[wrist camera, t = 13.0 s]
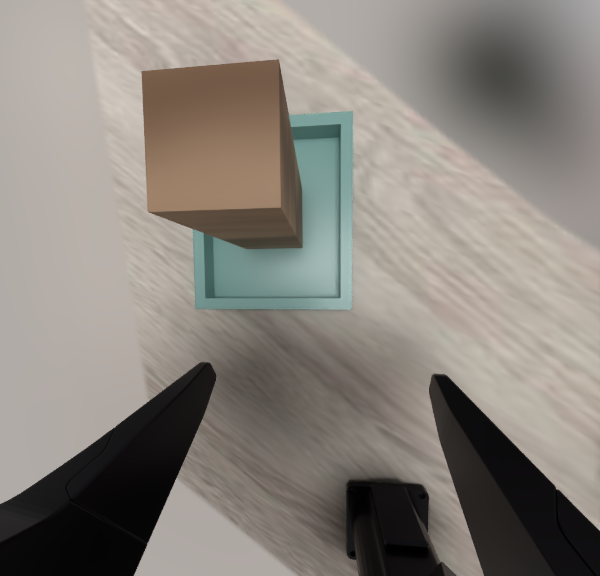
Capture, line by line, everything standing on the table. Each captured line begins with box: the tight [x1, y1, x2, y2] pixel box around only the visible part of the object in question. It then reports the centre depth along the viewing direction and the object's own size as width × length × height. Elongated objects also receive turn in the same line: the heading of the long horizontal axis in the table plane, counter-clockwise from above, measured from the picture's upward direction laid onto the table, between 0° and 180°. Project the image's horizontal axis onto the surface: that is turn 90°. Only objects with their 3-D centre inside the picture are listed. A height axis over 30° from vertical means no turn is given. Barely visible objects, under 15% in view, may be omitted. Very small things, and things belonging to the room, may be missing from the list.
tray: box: [193, 111, 353, 310], centre depth 18 cm, size 14×12×2 cm
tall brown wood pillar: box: [142, 60, 303, 249], centre depth 13 cm, size 4×4×10 cm
